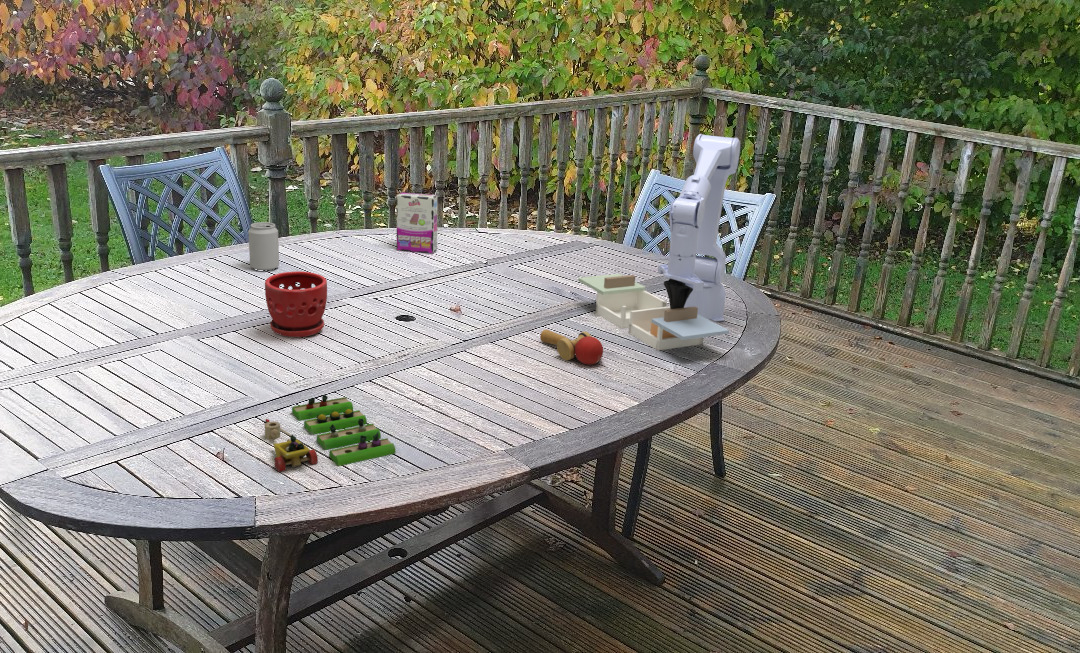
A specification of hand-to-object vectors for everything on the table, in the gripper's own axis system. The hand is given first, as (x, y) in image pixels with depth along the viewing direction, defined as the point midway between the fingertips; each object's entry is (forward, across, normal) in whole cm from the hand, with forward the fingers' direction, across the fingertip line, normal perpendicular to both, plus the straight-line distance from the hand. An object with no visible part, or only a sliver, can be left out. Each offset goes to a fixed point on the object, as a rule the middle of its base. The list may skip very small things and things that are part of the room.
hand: (676, 313), depth 215 cm
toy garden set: (+9, +17, -85) cm, 87 cm away
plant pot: (+8, -36, -75) cm, 84 cm away
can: (+8, -87, -71) cm, 113 cm away
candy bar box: (+8, -93, -26) cm, 97 cm away
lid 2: (+2, +5, 0) cm, 6 cm away
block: (+7, -2, -2) cm, 7 cm away
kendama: (+8, -4, -24) cm, 26 cm away
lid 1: (+2, -27, 0) cm, 28 cm away
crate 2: (+8, -3, 0) cm, 8 cm away
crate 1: (+8, -18, 0) cm, 20 cm away
